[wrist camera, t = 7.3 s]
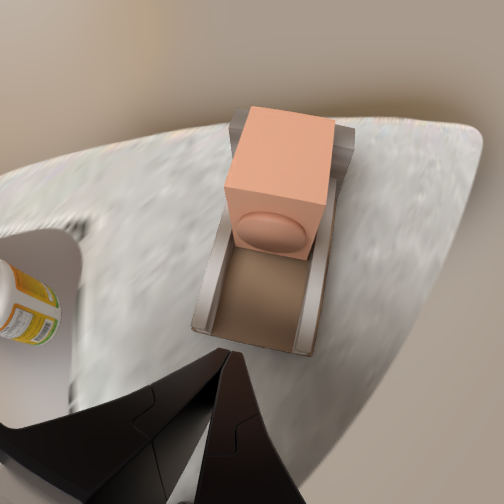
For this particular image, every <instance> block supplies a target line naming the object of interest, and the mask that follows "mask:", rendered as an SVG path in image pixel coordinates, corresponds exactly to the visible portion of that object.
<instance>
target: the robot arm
mask: <svg viewBox="0 0 504 504" xmlns="http://www.w3.org/2000/svg"><path fill="white" fill-rule="evenodd" d="M210 419H211V420H210ZM209 421H210V425H209V430H208V435H207V440H206V445H205V450H204V455H203V460H202V465H201V470H200V475H199V480H198V485H197V490H196V495H195V500H194V504H306V502H305V501H304V499H303V497H302V496H301V494H300V492H299V490H298V489H297V487H296V485H295V483H294V482H293V480H292V478H291V476H290V474H289V473H288V471H287V469H286V467H285V466H284V464H283V462H282V460H281V458H280V456H279V455H278V453H277V451H276V449H275V447H274V445H273V443H272V441H271V439H270V437H269V435H268V432H267V430H266V427H265V424H264V421H263V418H262V415H261V413H260V410H259V406H258V403H257V400H256V397H255V393H254V390H253V387H252V383H251V380H250V377H249V373H248V370H247V367H246V363H245V360H244V356H243V354H242V353H240V352H235V351H231V352H230V351H229V350H227V349H222V348H217V349H216V350H214V351H212V352H210V353H208V354H207V355H205V356H203V357H201V358H199V359H197V360H196V361H194V362H192V363H190V364H188V365H186V366H184V367H183V368H181V369H179V370H177V371H175V372H173V373H171V374H169V375H167V376H166V377H164V378H162V379H160V380H158V381H156V382H154V383H152V384H150V385H147V386H145V387H143V388H141V389H139V390H137V391H135V392H133V393H130V394H128V395H126V396H123V397H120V398H118V399H115V400H112V401H109V402H106V403H104V404H101V405H98V406H95V407H92V408H88V409H85V410H82V411H79V412H76V413H73V414H69V415H66V416H63V417H59V418H56V419H53V420H49V421H46V422H42V423H39V424H35V425H31V426H28V427H24V428H19V429H12V428H8V427H6V426H4V425H3V424H2V423H0V462H1V463H2V465H1V466H0V504H166V501H168V499H169V497H170V495H171V493H172V492H173V490H174V488H175V486H176V484H177V482H178V480H179V478H180V477H181V475H182V473H183V471H184V469H185V467H186V465H187V463H188V461H189V460H190V458H191V456H192V454H193V452H194V450H195V448H196V446H197V444H198V442H199V440H200V438H201V436H202V434H203V432H204V430H205V429H206V427H207V425H208V423H209ZM178 504H185V503H178Z"/></svg>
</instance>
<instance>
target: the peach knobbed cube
mask: <svg viewBox="0 0 504 504" xmlns="http://www.w3.org/2000/svg"><path fill="white" fill-rule="evenodd" d="M334 129H335V120H332V119H327V118H322V117H317V116H311V115H306V114H300V113H294V112H288V111H282V110H276V109H269V108H261V107H253V106H251V109H250V112H249V114H248V117H247V120H246V123H245V126H244V129H243V132H242V134H241V137H240V140H239V143H238V146H237V149H236V152H235V155H234V158H233V161H232V164H231V167H230V170H229V173H228V176H227V179H226V182H225V185H224V189H225V194H226V200H227V205H228V210H229V215H230V221H231V226H232V231H233V236H234V241H235V246H236V247H241V248H246V249H251V250H256V251H261V252H266V253H271V254H276V255H281V256H286V257H291V258H296V259H301V260H307V257H308V255H309V252H310V249H311V246H312V244H313V241H314V238H315V235H316V232H317V229H318V227H319V224H320V221H321V218H322V215H323V212H324V209H325V206H326V200H327V192H328V184H329V176H330V167H331V158H332V149H333V139H334Z"/></svg>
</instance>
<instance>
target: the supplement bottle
mask: <svg viewBox="0 0 504 504" xmlns="http://www.w3.org/2000/svg"><path fill="white" fill-rule="evenodd" d="M61 314H62V313H61V304H60V301H59V298H58V296H57V294H56V293H55V292H54V291H53V290H52V289H51V288H50V287H48V286H47V285H45V284H43V283H41V282H39V281H38V280H36V279H34V278H32V277H30V276H29V275H27V274H25V273H23V272H22V271H20V270H18V269H16V268H15V267H13V266H11V265H10V264H8V263H6V262H4V261H3V260H1V259H0V336H1V337H5V338H8V339H12V340H16V341H19V342H23V343H27V344H32V345H43V344H46V343H47V342H49V341H50V340H51V339H52V338H53V337H54V336H55V334H56V333H57V331H58V329H59V326H60V323H61Z"/></svg>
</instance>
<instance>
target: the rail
mask: <svg viewBox="0 0 504 504" xmlns="http://www.w3.org/2000/svg"><path fill="white" fill-rule="evenodd" d="M249 112H250V110H245V109H236V110H235V113H234V115H233V118H232V120H231V123H230V125H229V135H230V143H231V150H232V158H234V155H235V152H236V149H237V146H238V143H239V140H240V137H241V134H242V132H243V129H244V126H245V123H246V120H247V117H248V114H249ZM354 145H355V129H354V128H349V127H345V126H340V125H336V124H335V129H334V139H333V149H332V158H331V167H330V176H329V184H328V192H327V200H326V206H325V209H324V212H323V215H322V218H321V221H320V224H319V227H318V229H317V232H316V235H315V238H314V241H313V244H312V246H311V249H310V252H309V255H308V257H307V260H301V259H296V258H291V257H286V256H281V255H276V254H271V253H266V252H261V251H256V250H251V249H246V248H241V247H236V246H235V241H234V236H233V231H232V226H231V221H230V215H229V210H228V205H227V201H226V204H225V208H224V211H223V214H222V218H221V221H220V224H219V228H218V231H217V234H216V238H215V241H214V244H213V248H212V251H211V255H210V258H209V262H208V265H207V269H206V272H205V276H204V279H203V283H202V286H201V290H200V293H199V297H198V300H197V304H196V308H195V311H194V315H193V319H192V322H191V326H192V328H191V330H193V331H195V332H199V333H203V334H207V335H211V336H215V337H219V338H223V339H227V340H232V341H236V342H240V343H245V344H249V345H254V346H259V347H263V348H268V349H273V350H278V351H283V352H288V353H293V354H298V355H304V356H309V357H311V356H313V351H314V345H315V340H316V335H317V330H318V324H319V319H320V313H321V307H322V301H323V295H324V289H325V283H326V277H327V270H328V263H329V256H330V249H331V242H332V235H333V227H334V219H335V210H336V201H337V196H338V193H339V190H340V188H341V185H342V182H343V180H344V177H345V174H346V171H347V169H348V166H349V163H350V160H351V157H352V155H353V152H354Z"/></svg>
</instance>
